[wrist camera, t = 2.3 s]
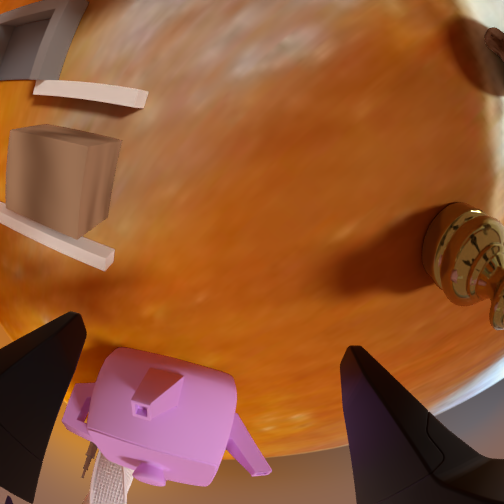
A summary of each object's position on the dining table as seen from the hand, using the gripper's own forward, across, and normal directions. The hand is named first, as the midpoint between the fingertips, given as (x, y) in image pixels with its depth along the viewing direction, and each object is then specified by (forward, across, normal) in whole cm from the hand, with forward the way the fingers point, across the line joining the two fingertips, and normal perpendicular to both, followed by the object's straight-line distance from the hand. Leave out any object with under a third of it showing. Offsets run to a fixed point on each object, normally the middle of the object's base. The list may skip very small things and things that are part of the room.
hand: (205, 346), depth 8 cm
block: (+12, +13, -3) cm, 18 cm away
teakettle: (+12, +6, +20) cm, 24 cm away
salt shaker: (+12, -18, 0) cm, 22 cm away
